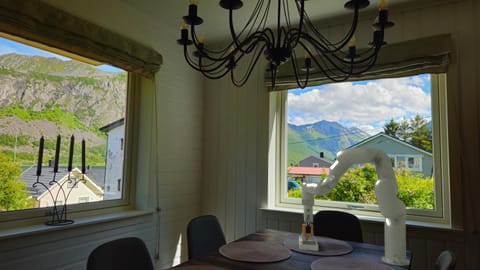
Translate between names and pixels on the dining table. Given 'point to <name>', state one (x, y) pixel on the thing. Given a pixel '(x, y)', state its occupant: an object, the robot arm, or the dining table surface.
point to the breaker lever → (307, 233)
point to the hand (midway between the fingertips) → (307, 231)
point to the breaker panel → (308, 243)
